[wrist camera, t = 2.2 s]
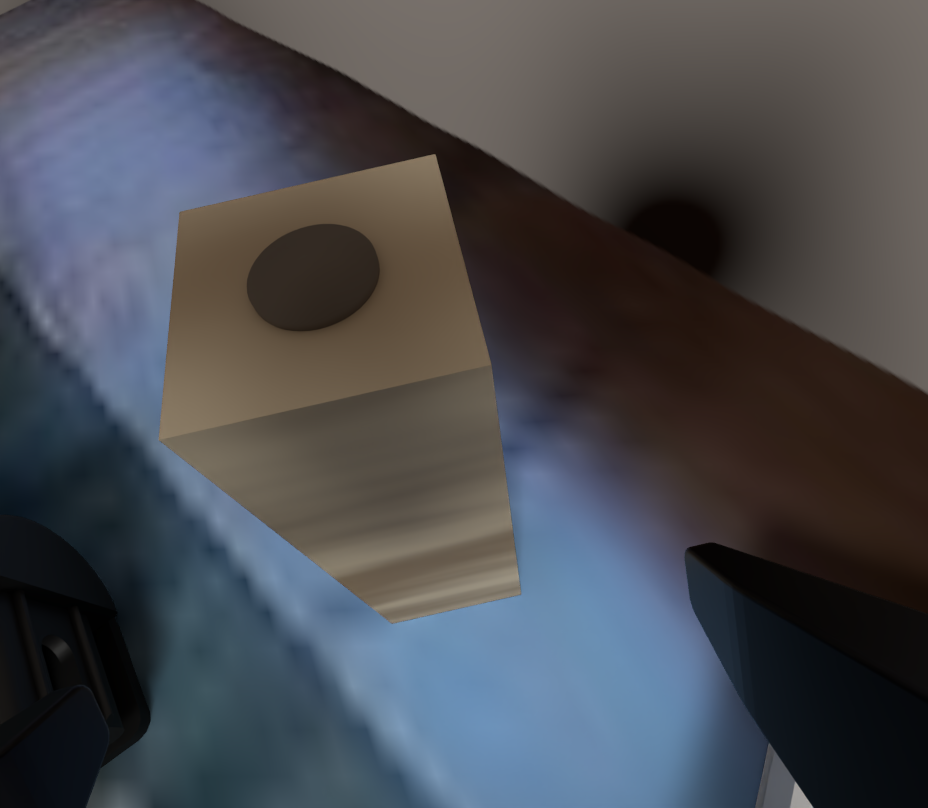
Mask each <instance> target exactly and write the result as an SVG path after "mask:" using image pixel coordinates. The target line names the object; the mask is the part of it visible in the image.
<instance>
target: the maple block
mask: <svg viewBox="0 0 928 808" xmlns="http://www.w3.org/2000/svg"><path fill="white" fill-rule="evenodd" d="M159 441H161V442H162V443H163V444H164V445H166V446H167V447H168V448H169V449H171V450H172V451H173V452H175V453H176V454H177V455H178V456H180V457H181V458H182V459H183V460H185V461H186V462H187V463H188V464H190V465H191V466H192V467H194V468H195V469H196V470H197V471H199V472H200V473H201V474H202V475H204V476H205V477H206V478H208V479H209V480H210V481H211V482H213V483H214V484H215V485H216V486H218V487H219V488H220V489H222V490H223V491H224V492H225V493H227V494H228V495H229V496H230V497H232V498H233V499H234V500H235V501H237V502H238V503H239V504H241V505H242V506H243V507H244V508H246V509H247V510H248V511H249V512H251V513H252V514H253V515H255V516H256V517H257V518H258V519H260V520H261V521H262V522H263V523H265V524H266V525H267V526H268V527H270V528H271V529H272V530H274V531H275V532H276V533H277V534H279V535H280V536H281V537H282V538H284V539H285V540H286V541H288V542H289V543H290V544H291V545H293V546H294V547H295V548H296V549H298V550H299V551H300V552H301V553H303V554H304V555H305V556H307V557H308V558H309V559H310V560H312V561H313V562H314V563H315V564H317V565H318V566H319V567H321V568H322V569H323V570H324V571H326V572H327V573H328V574H329V575H331V576H332V577H333V578H334V579H336V580H337V581H338V582H340V583H341V584H342V585H343V586H345V587H346V588H347V589H348V590H350V591H351V592H352V593H354V594H355V595H356V596H357V597H359V598H360V599H361V600H362V601H364V602H365V603H366V604H367V605H369V606H370V607H371V608H373V609H374V610H375V611H376V612H378V613H379V614H380V615H381V616H383V617H384V618H385V619H387V620H388V621H389V622H390V623H392V624H393V623H397V622H402V621H406V620H411V619H415V618H420V617H424V616H428V615H433V614H437V613H442V612H446V611H450V610H455V609H459V608H464V607H468V606H473V605H477V604H481V603H486V602H490V601H495V600H499V599H503V598H508V597H512V596H517V595H521V589H520V581H519V574H518V566H517V558H516V551H515V543H514V535H513V527H512V520H511V512H510V504H509V497H508V489H507V481H506V473H505V466H504V458H503V450H502V443H501V435H500V427H499V419H498V412H497V404H496V396H495V389H494V381H493V373H492V365H491V361H490V358H489V354H488V350H487V346H486V343H485V339H484V335H483V331H482V328H481V324H480V320H479V316H478V313H477V309H476V305H475V301H474V297H473V294H472V290H471V286H470V282H469V279H468V275H467V271H466V267H465V264H464V260H463V256H462V252H461V249H460V245H459V241H458V237H457V234H456V230H455V226H454V222H453V219H452V215H451V211H450V207H449V204H448V200H447V196H446V192H445V189H444V185H443V181H442V177H441V174H440V170H439V166H438V162H437V159H436V155H435V154H434V155H429V156H425V157H420V158H416V159H412V160H407V161H403V162H398V163H394V164H389V165H385V166H381V167H376V168H372V169H367V170H363V171H359V172H354V173H350V174H345V175H341V176H336V177H332V178H328V179H323V180H319V181H314V182H310V183H306V184H301V185H297V186H292V187H288V188H283V189H279V190H275V191H270V192H266V193H261V194H257V195H253V196H248V197H244V198H239V199H235V200H230V201H226V202H222V203H217V204H213V205H208V206H204V207H200V208H195V209H191V210H186V211H182V212H180V213H179V224H178V235H177V246H176V257H175V268H174V279H173V290H172V301H171V311H170V322H169V333H168V344H167V355H166V366H165V377H164V388H163V399H162V410H161V420H160V431H159Z"/></svg>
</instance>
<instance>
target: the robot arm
mask: <svg viewBox="0 0 928 808" xmlns="http://www.w3.org/2000/svg"><path fill="white" fill-rule="evenodd" d="M685 566H686V574H687V581H688V589H689V596H690V601H691V604H692V607H693V610H694V612H695V614H696V616H697V618H698V620H699V622H700V624H701V626H702V628H703V629H704V631H705V633H706V635H707V637H708V639H709V641H710V643H711V644H712V646H713V648H714V650H715V652H716V654H717V656H718V658H719V659H720V661H721V663H722V665H723V667H724V669H725V671H726V672H727V674H728V676H729V678H730V680H731V682H732V684H733V686H734V687H735V689H736V691H737V693H738V695H739V697H740V698H741V700H742V702H743V704H744V705H745V707H746V709H747V710H748V712H749V713H750V715H751V716H752V718H753V720H754V721H755V723H756V724H757V726H758V727H759V729H760V730H761V732H762V733H763V735H764V736H765V737H766V739H767V740H768V742H769V743H770V745H771V746H772V748H773V749H774V751H775V752H776V754H777V755H778V757H779V758H780V760H781V761H782V762H783V764H784V765H785V767H786V768H787V770H788V771H789V773H790V774H791V776H792V777H793V779H794V780H795V782H796V783H797V785H798V786H799V787H800V789H801V790H802V792H803V793H804V795H805V796H806V798H807V799H808V801H809V802H810V804H811V805H812V807H813V808H928V614H927V613H924V612H921V611H918V610H915V609H912V608H909V607H906V606H903V605H900V604H897V603H894V602H891V601H888V600H885V599H882V598H879V597H876V596H873V595H870V594H867V593H864V592H861V591H858V590H855V589H852V588H849V587H846V586H843V585H840V584H837V583H834V582H831V581H828V580H825V579H822V578H819V577H816V576H813V575H810V574H807V573H804V572H801V571H798V570H795V569H792V568H789V567H786V566H783V565H780V564H777V563H774V562H771V561H768V560H765V559H762V558H759V557H756V556H753V555H750V554H747V553H744V552H741V551H738V550H735V549H732V548H729V547H726V546H723V545H720V544H717V543H705V544H701V545H697V546H692V547H689V548H687V549H686V551H685ZM108 744H109V729H108V726H107V724H106V722H105V719H104V717H103V715H102V713H101V711H100V708H99V706H98V704H97V702H96V700H95V697H94V695H93V693H92V691H91V690H90V689H89V688H88V687H87V686H84V685H76V686H71V687H67V688H62V689H58V690H55V691H53V692H51V693H49V694H48V695H46V696H44V697H43V698H41V699H40V700H38V701H37V702H35V703H34V704H32V705H30V706H29V707H27V708H26V709H24V710H23V711H21V712H20V713H18V714H16V715H15V716H13V717H12V718H10V719H9V720H7V721H6V722H4V723H2V724H1V725H0V808H86V806H87V803H88V800H89V797H90V795H91V792H92V789H93V786H94V784H95V781H96V778H97V776H98V773H99V770H100V767H101V765H102V762H103V759H104V757H105V754H106V751H107V748H108Z"/></svg>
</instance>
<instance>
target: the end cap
mask: <svg viewBox="0 0 928 808" xmlns="http://www.w3.org/2000/svg"><path fill="white" fill-rule="evenodd" d="M116 615H117V611H116V608H115V606H114V604H113V601H112V599H111V597H110V595H109V593H108V591H107V590H106V588H105V586H104V584H103V583H102V581H101V580H100V578H99V577H98V575H97V574H96V573H95V571H94V570H93V569H92V567H91V566H90V565H89V564H88V563H87V561H86V560H85V559H84V558H83V557H82V556H81V555H80V554H79V553H78V552H77V551H76V550H75V549H74V548H73V547H72V546H71V545H70V544H68V543H67V542H66V541H65V540H64V539H62V538H61V537H60V536H58V535H57V534H55V533H54V532H52V531H51V530H49V529H48V528H46V527H44V526H42V525H40V524H38V523H36V522H34V521H32V520H29V519H26V518H23V517H18V516H11V515H0V725H1V724H2V723H4V722H6V721H7V720H9V719H10V718H12V717H13V716H15V715H16V714H18V713H20V712H21V711H23V710H24V709H26V708H27V707H29V706H30V705H32V704H34V703H35V702H37V701H38V700H40V699H41V698H43V697H44V696H46V695H48V694H49V693H51V692H53V691H55V690H58V689H62V688H67V687H71V686H76V685H84V686H87V687H88V688H89V689H90V690H91V691H92V693H93V695H94V697H95V700H96V702H97V704H98V706H99V708H100V711H101V713H102V715H103V717H104V719H105V722H106V724H107V726H108V729H109V744H108V748H107V751H106V754H105V757H104V759H103V762H102V765H101V767H103V766H104V765H106V764H107V763H108V762H110V761H111V760H112V759H114V758H115V757H117V756H118V755H119V754H121V753H122V752H123V751H125V750H126V749H127V748H129V747H130V746H132V745H133V744H134V743H136V742H137V741H138V740H140V738H141V737H142V736H143V735H144V734H145V733H146V732H147V729H148V726H149V723H150V713H149V709H148V706H147V703H146V701H145V698H144V695H143V692H142V689H141V687H140V684H139V681H138V678H137V675H136V673H135V670H134V667H133V664H132V661H131V659H130V656H129V653H128V650H127V647H126V645H125V642H124V639H123V636H122V633H121V631H120V628H119V626H118V624H117V622H116V620H115V618H114V617H115V616H116ZM101 767H100V768H101Z"/></svg>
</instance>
